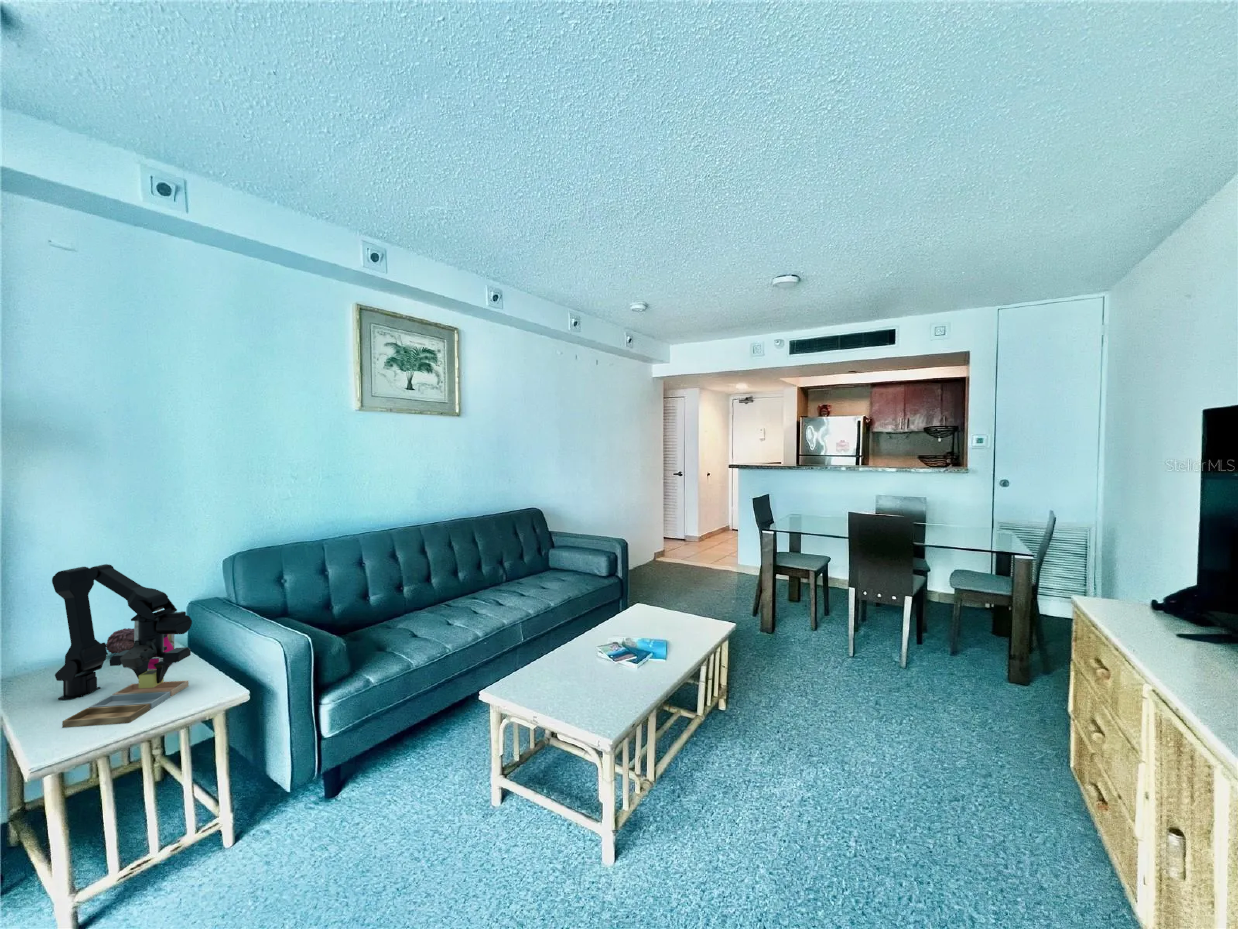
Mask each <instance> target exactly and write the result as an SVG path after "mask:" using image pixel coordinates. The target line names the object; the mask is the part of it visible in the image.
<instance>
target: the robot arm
mask: <svg viewBox="0 0 1238 929" xmlns="http://www.w3.org/2000/svg"><path fill="white" fill-rule="evenodd" d="M95 581H96V582H98V583H99V584H100V585H102V586H104V587H105V588H107V589H108V590H110V591H112V592H113V593H115V594H116V595H118V596H120V597H122V598H123V599H125V600H126V601H127V606H128V608H129V609H131V610H132V611H133V612H134V613H135V614H136V615H135V616H133V617H132V618H130V621H131V622H135V621H138V640H136V641H135V642H134V646H133V648H132V649H130V650H125V651H122V652H120V653H115V654H114V655H112V656H111V658H110V659H109V667H116V666H117V667H119V666H122V667H123V668H124V669H126V668H127V669H130V670H132V671H133V672H134V674H135V676H136V677H137V679H138V680H139V675H141V674H143V673H144V672H146V671H148V670H149V669H148V664H149V660H150V659H159V662H158V663H156V664H154V666H155V667H156V669H155V670H156V680H157V683H160V682H161V681H162V679H163V677H165V675H166V674H167V672H168V669H169V668H170V667H171V665H172V664H174V663H179V662H181V661H182V660H184V659H186V658H188V657H190V656H191V652H192V651H191V648H189V647H188V646H185V647H174V649H173V650H171V651H169V652H164V651H165V650H167V646H164V638H165V637H167V634H174V635H184V634H186V633H187V632H189V631H190V629H191V627H192V624H193V620H192V619H191V617H190V616H189V615H187V612H186V611H183V610H182V611H178V609H177V608H176V606H175V605H174V604H173V602H172V600H170V599H169V596H168V594H166V593H165V592H164V591H161V590H159V589H157V588H151V587H145V586H143V585H141V584H140V583H138V582H136V581H135V580H133V579H131V578H129V577H128V576H126V575H125V574H123V573H122V572H120V571H119V570H117V569H115V568H114V566H113V565H112V564H107V563H106V564H101V565H95V566H91V567H88V566H79V567H73V568H70V569H65V570H64V569H63V570H60V571H58V572H57V571H56V573H55V574H54V575H53V576H52V578H51V583H52V586H53V588H54V591H55V593H56V594H57V595H58V596H59V597H61V598H62V599H63V601H64V605H65V606H64V607H65V614H66V619H67V625H68V626H67V627H68V633H69V638H70V647H69V648H68V650H67V652H66V654H65V656H64V665H63V666H62V667H61V668H60V669H59V670H57V671H56V672H55V674H54V676H55V679H56V681H59V682H62V681H63V684H62V686H63V692H62V693H63V694H62V696H59V697H57V700H73V699H78V698H84V697H85V696H87V695H90V694H91V693H93V692H95V691H98V690H100V689H101V687H100V686H98V677H97V676H96V675H97V673H96V671H98V670H101V669H102V668H103V666H104V662H105V661H106V660H107V655H108V654H109V652H108V650H107V649H106V648H107V647H106V644H107V643H106V642H100V641H99V640H97V639H96V638H95V631H94V623H93V617H92V610H91V604H90V598H89V595H90V593H91V590H92V588H93V587H94V585H95ZM158 610H161V611H158ZM157 611H158V612H157ZM171 663H172V664H171Z"/></svg>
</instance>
